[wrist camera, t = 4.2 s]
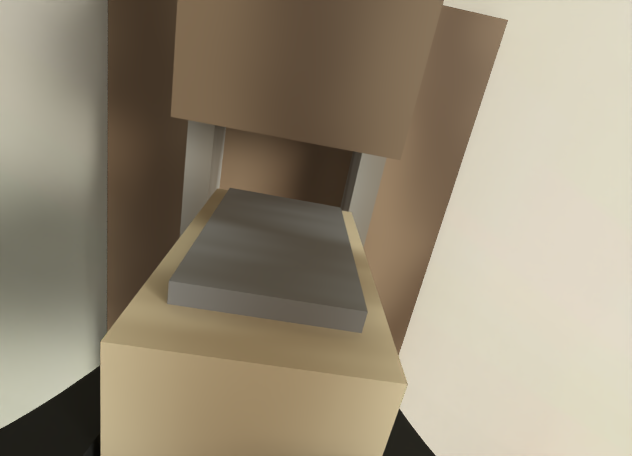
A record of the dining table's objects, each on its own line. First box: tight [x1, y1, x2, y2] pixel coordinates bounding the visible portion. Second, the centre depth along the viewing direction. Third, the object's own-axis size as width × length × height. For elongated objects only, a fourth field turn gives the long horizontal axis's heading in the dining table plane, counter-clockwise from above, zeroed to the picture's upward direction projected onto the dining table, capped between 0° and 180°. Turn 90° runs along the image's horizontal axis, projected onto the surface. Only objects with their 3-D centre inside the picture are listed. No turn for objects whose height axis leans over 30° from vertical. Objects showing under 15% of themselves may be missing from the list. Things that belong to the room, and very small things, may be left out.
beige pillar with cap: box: [100, 188, 408, 456], centre depth 10 cm, size 4×8×7 cm, turn 169°
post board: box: [107, 0, 508, 355], centre depth 18 cm, size 16×28×7 cm, turn 169°
